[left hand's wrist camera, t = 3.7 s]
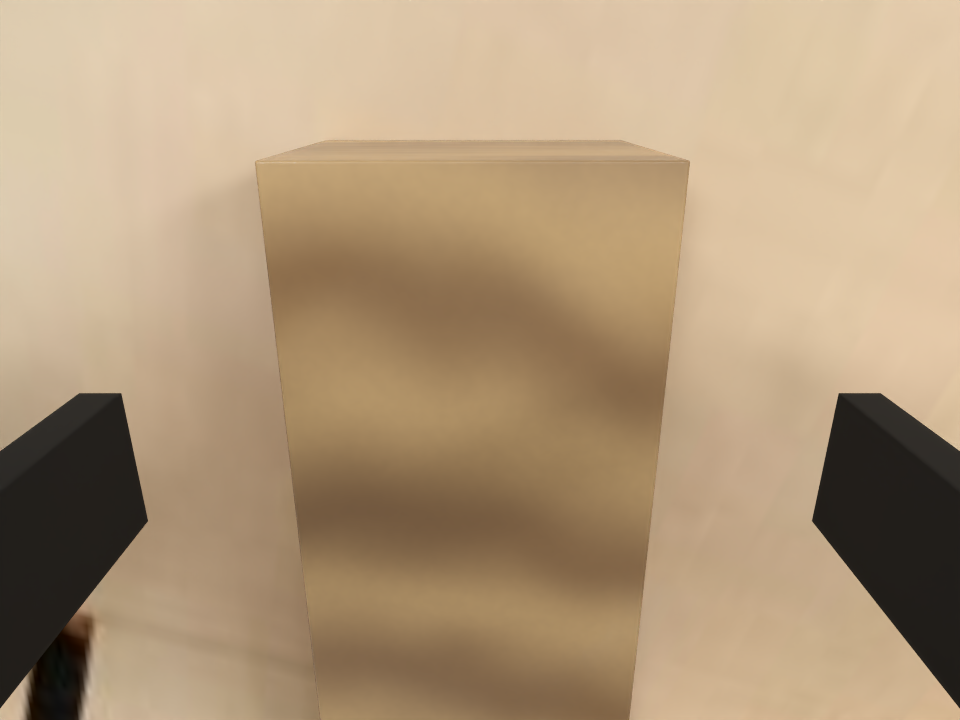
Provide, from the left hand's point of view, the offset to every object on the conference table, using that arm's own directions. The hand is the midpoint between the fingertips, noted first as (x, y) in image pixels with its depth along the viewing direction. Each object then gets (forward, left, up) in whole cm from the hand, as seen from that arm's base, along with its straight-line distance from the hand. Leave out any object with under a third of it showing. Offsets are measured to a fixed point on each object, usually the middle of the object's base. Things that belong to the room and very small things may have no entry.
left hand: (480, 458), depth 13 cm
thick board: (+24, -18, -12) cm, 32 cm away
